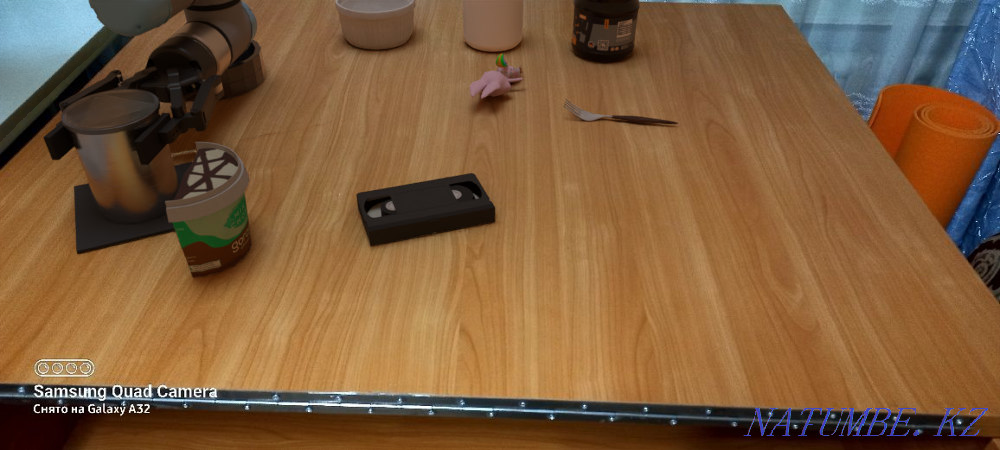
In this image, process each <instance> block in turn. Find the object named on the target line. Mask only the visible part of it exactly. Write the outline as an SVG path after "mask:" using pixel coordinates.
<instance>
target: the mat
mask: <svg viewBox="0 0 1000 450" xmlns="http://www.w3.org/2000/svg"><path fill="white" fill-rule="evenodd" d="M192 162H193V161H188V162H184V163H179V164H175V168H176V171H177V175H178V178H179V182H180V184H181V181H182V178H183V176H184V173H185V172H186V170H187V169H188V168H189V166H190V165H191V164H192ZM73 197H74V201H73V202H74V225H75V228H74V229H75V248H76V249H75V251H76V254H77V255H78V254H79V255H80V254H83V253H88V252H92V251H96V250H100V249H104V248H109V247H114V246H118V245H121V244H127V243H130V242H134V241H138V240H142V239H146V238H151V237H155V236H158V235H164V234H167V233H171V232H176V231H175V229H174V226H173V223H172V222H169V221H168V216H167V214H165V215H163V216H161V217H159V218H157V219H154V220H151V221H147V222H143V223H137V224H117V223H113V222H109V221H107V220H106V219H104V218H103V217H102V216H101V215H100V212H99V210H98V207H97V205H96V202H95V199H94V197H93V194H92V191H91V189H90V186H89V183H88V182H87V183H83V184H78V185H74V186H73Z"/></svg>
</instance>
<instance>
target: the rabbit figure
mask: <svg viewBox="0 0 1000 450" xmlns="http://www.w3.org/2000/svg"><path fill="white" fill-rule="evenodd" d="M495 65H496V66H497V68H496V70H489V71H484V72H483V74H482V75H481V77H480V79H478V80H474V81H473V82H471V83H470V85H469V95H470V97H472V98H474V97H475V96H477V95H478V94H479V93H480V92H482V93H481V96H480V99H485V98H487V97H488V96H489V97H492V98H495V97H498V96H501V95H505V94H507V93H508V92H510V91H511V90H512V85H511V83H512V84H513V83H517V82H523V80H524V78H523V77H522V75H524V72H523V68H522V63H521V65H518V66H517V67H515V66H513V65H508V61H506V60H505V55H504V53H500V54H498V55H497V57H496V60H495Z"/></svg>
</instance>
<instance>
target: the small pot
mask: <svg viewBox="0 0 1000 450" xmlns="http://www.w3.org/2000/svg"><path fill="white" fill-rule="evenodd" d="M160 109H161V102H159V99H158V98H157V96H156V95H154V94H153V93H151V92H148V91H144V90H138V89H118V90H110V91H104V92H100V93H96V94H93V95H89V96H87V97H84V98H82V99H79V100H77V101H75V102H74V103H72V104H71V105H69V106H68V107H67V108H66V109H65V110H64V111H63V112H62V111H61V115H60V121H62V123H63V125H64V127H65V128H66V129H67V130H69V133H70V135H71V138H72V141H73V143H74V148H75V149H74V150H75V151H76V154H77V156H78V159H79V162H80V165H81V167H82V170H83V172H84V175H85V178H86V180H87V183H89V186H90V189H91V191H92V194H93V197H94V199H95V202H96V205H97V207H98V210H99V212H100V215H101V216H102V217H103V218H104V219H106V220H107V221H109V222H113V223H117V224H137V223H143V222H147V221H151V220H154V219H157V218H159V217H161V216H163V215H165V214H167V212H166V208H167V207H166V204H165V201H173V200H174V198H175V196H176V194H177V192H178V189H179V187H180V182H179V178H178V175H177V171H176V168H175V165H176V164H175V160H174V158H173V155H172V151H171V147H170V144H167V145H166V146H165V147H164V148H163V149H162V150H161V151H160V152H159V154H158V155H157V156H156V157H155V158H154V159H153V160H152V161H151V162H150V163H149V164H148V165H141V163H140V160H139V157H138V154H137V150H136V147H135V144H134V141H135V140H136V139H137V138H138V137H139V136H140V135H141V134H142V133H143V132H144V131H145V130H146V129H147V128H148V127H149V126H150V125H151V124H152V123H153V122H154V121H155V120H156V119H157V118H158V117H159V116H160V115H161V113H160Z"/></svg>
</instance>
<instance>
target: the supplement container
mask: <svg viewBox="0 0 1000 450" xmlns="http://www.w3.org/2000/svg"><path fill="white" fill-rule="evenodd" d="M640 6H641V2H640V0H573V7H574V8H573V19H572V33H571V34H572V36H571V42H570V45H571V48H572V50H573V52H574V53H575V54H576V55H578V56H579V57H580V58H583V59H586V60H588V61H593V62H601V63H609V62H610V63H611V62H617V61H621V60H624V59H627V58H628V57H630V56H631V55H632V54H633V52H634V50H635V47H636V46H635V45H636V44H635V42H636V32H637V24H638V15H639V9H640Z"/></svg>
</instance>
